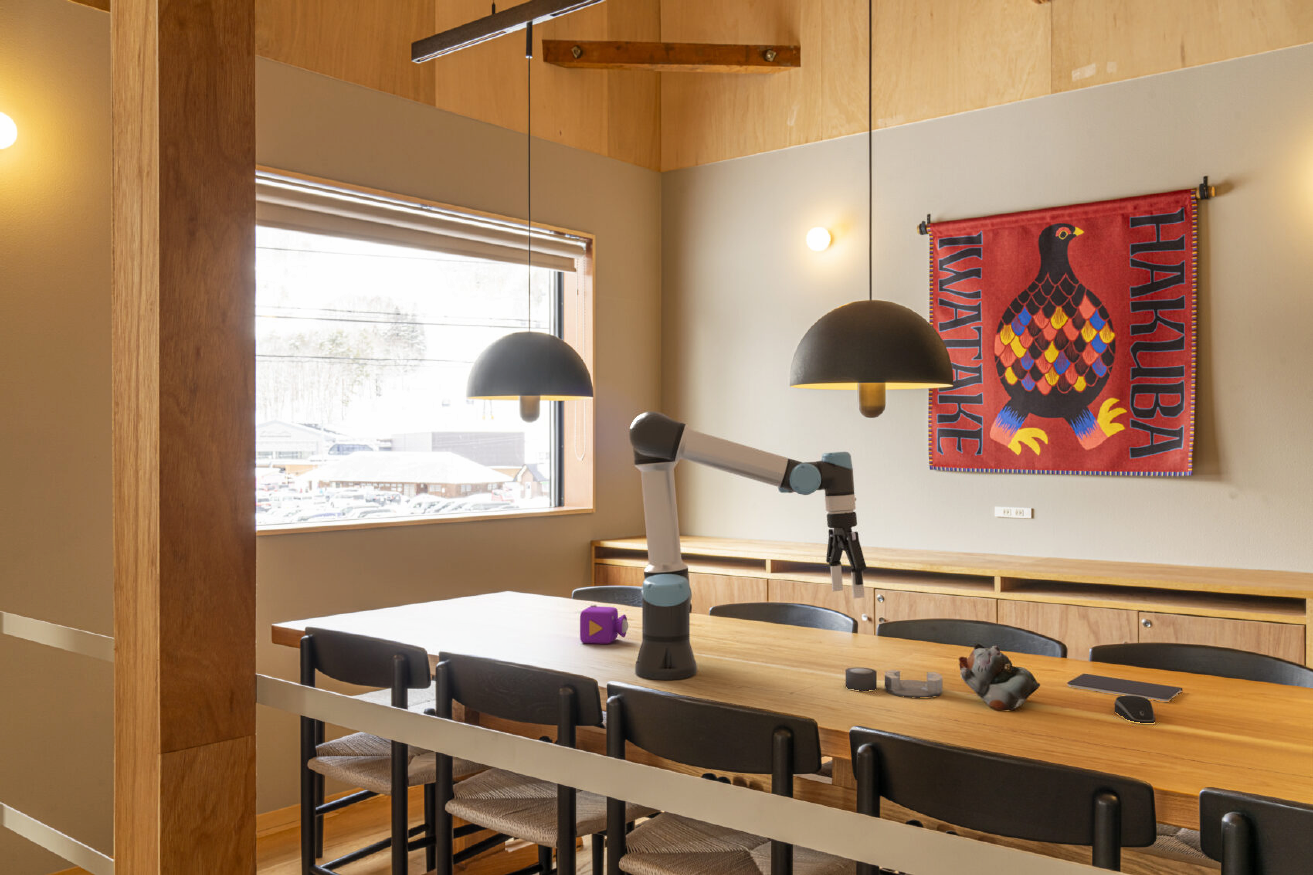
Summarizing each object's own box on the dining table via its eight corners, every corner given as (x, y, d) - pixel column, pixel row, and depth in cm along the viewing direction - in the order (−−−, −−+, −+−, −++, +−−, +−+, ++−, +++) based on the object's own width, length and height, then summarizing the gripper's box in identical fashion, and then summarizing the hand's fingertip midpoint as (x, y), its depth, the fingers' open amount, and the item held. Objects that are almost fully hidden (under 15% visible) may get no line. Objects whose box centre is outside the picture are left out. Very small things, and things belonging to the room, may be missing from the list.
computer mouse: (1125, 724, 189) (1125, 704, 189) (1109, 708, 201) (1109, 689, 201) (1163, 727, 188) (1163, 706, 188) (1145, 710, 200) (1144, 691, 200)
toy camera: (627, 645, 265) (627, 609, 265) (578, 645, 265) (578, 609, 265) (629, 638, 276) (629, 603, 276) (582, 637, 276) (582, 603, 276)
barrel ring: (941, 686, 219) (941, 670, 219) (943, 700, 207) (942, 683, 207) (885, 682, 222) (885, 667, 222) (883, 696, 210) (883, 679, 210)
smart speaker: (867, 693, 213) (867, 675, 213) (839, 688, 217) (839, 671, 217) (882, 687, 218) (882, 670, 218) (854, 683, 223) (854, 665, 223)
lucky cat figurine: (1009, 715, 195) (974, 653, 198) (970, 724, 205) (937, 665, 208) (1052, 684, 202) (1018, 625, 205) (1012, 694, 212) (980, 638, 215)
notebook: (1182, 694, 213) (1083, 679, 227) (1182, 687, 213) (1083, 673, 227) (1168, 706, 204) (1065, 689, 218) (1168, 698, 204) (1065, 682, 218)
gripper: (875, 512, 232) (882, 599, 232) (836, 508, 256) (842, 586, 256) (846, 515, 231) (853, 602, 230) (810, 510, 255) (816, 589, 255)
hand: (847, 594), depth 243 cm, fingers open, 13 cm apart
